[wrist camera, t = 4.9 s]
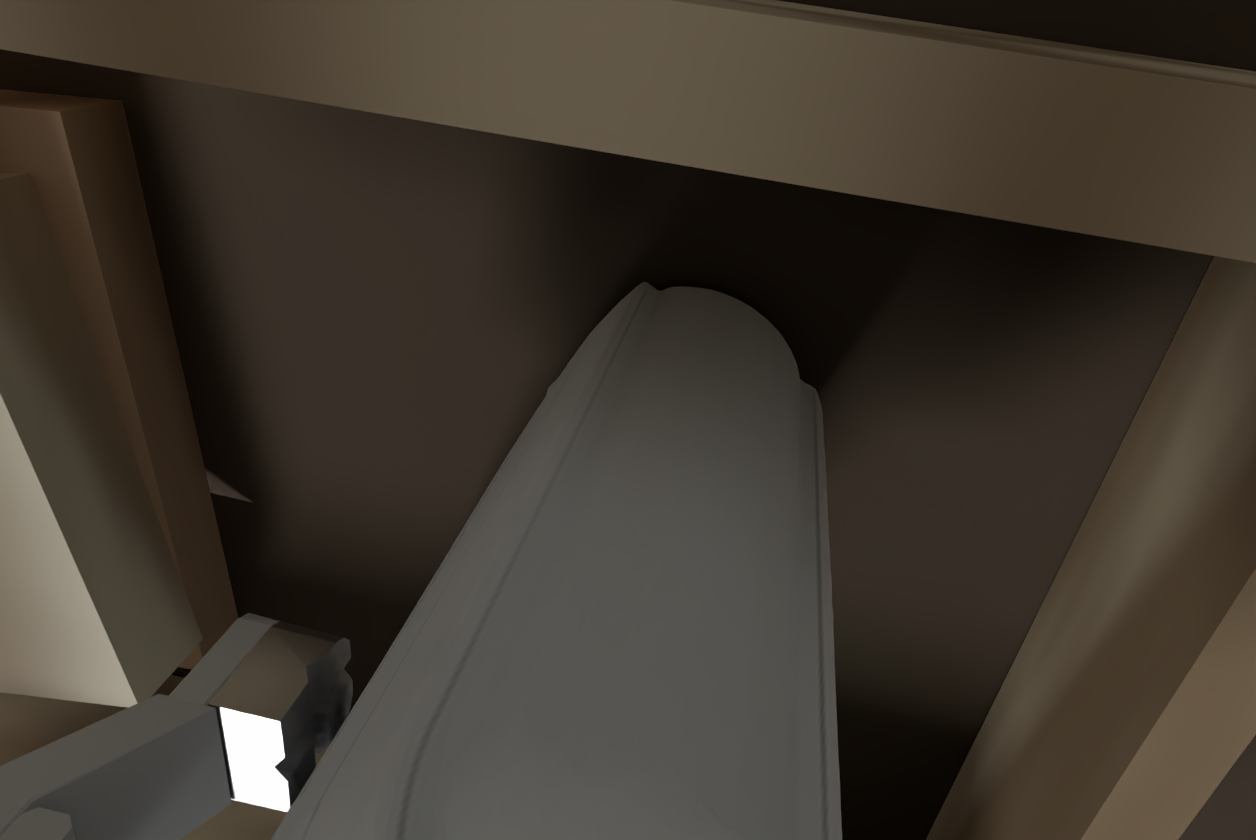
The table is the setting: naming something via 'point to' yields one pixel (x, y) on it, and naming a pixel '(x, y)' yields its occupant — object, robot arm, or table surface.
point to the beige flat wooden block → (124, 318)
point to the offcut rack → (890, 170)
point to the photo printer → (619, 614)
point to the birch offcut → (72, 498)
